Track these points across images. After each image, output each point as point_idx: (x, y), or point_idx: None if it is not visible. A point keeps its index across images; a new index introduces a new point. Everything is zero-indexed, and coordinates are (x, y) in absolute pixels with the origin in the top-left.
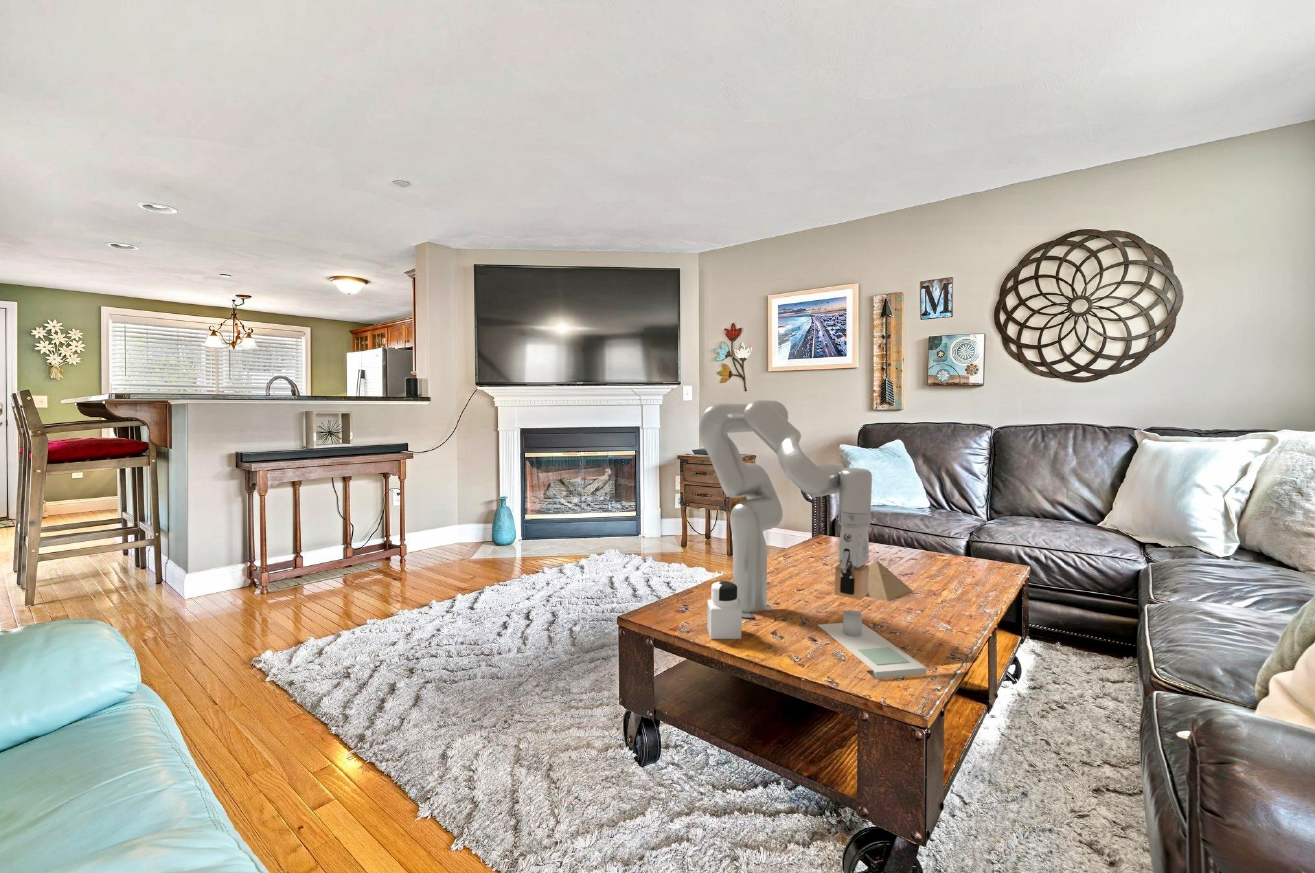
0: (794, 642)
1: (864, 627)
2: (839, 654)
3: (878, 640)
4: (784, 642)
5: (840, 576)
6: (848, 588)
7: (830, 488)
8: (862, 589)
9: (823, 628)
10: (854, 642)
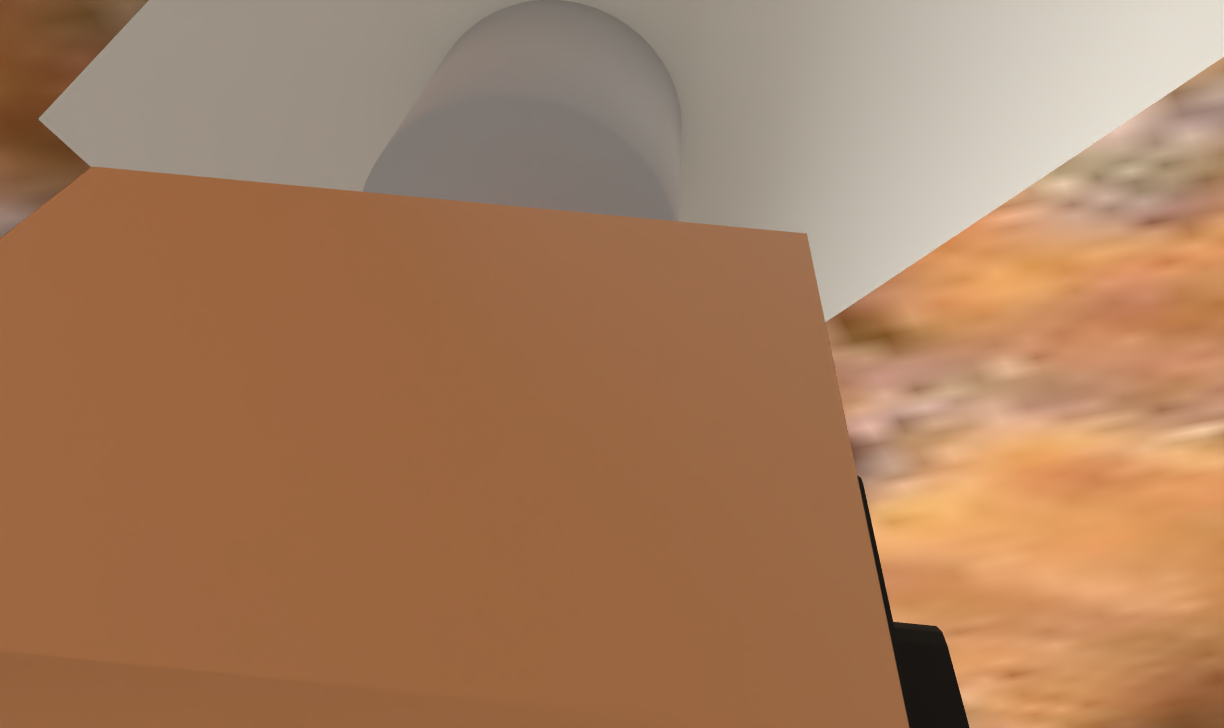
0: (979, 604)
1: (222, 16)
2: (1164, 140)
3: None
4: (1018, 673)
5: None
6: (940, 681)
7: None
8: (660, 342)
9: None
10: (903, 32)
